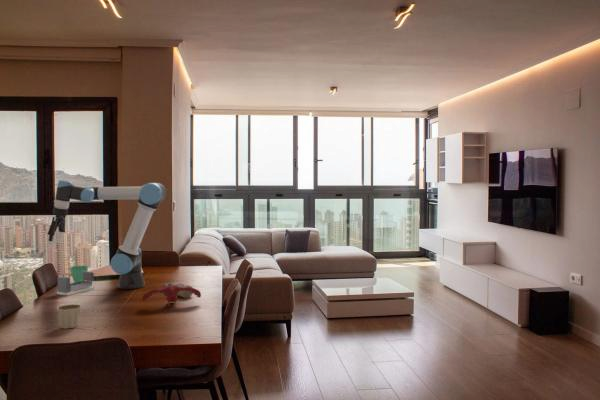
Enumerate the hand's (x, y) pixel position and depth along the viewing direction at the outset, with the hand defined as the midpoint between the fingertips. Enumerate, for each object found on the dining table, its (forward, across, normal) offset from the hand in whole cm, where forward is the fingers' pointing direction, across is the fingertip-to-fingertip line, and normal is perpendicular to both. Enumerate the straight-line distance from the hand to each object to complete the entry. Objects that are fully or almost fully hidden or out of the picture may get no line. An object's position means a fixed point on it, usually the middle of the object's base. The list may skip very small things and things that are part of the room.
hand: (54, 244), depth 284 cm
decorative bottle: (+13, +14, +73) cm, 76 cm away
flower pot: (+20, +71, +34) cm, 81 cm away
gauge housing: (+24, 0, +16) cm, 29 cm away
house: (+23, -45, +28) cm, 58 cm away
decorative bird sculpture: (+12, +39, +73) cm, 84 cm away
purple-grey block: (+22, -5, +20) cm, 30 cm away
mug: (+26, -25, +12) cm, 38 cm away
